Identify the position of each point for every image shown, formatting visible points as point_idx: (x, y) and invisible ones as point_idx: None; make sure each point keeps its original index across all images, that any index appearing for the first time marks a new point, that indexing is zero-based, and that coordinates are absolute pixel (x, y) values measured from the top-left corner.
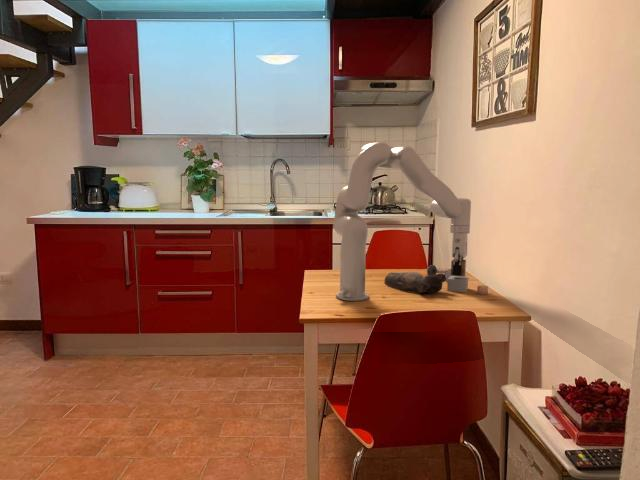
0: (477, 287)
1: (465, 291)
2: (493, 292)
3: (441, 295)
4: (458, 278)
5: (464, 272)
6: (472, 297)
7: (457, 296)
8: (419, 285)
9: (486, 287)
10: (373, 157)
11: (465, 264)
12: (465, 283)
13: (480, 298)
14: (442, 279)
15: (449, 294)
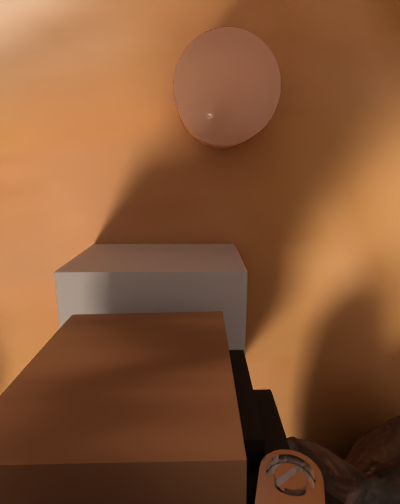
0: (238, 142)
1: (213, 244)
2: (127, 9)
3: (392, 377)
4: None
5: (150, 330)
6: (378, 164)
7: (384, 274)
8: None
9: (254, 42)
10: None
11: (36, 395)
12: (239, 262)
13: (390, 97)
14: (349, 471)
15: (344, 335)
